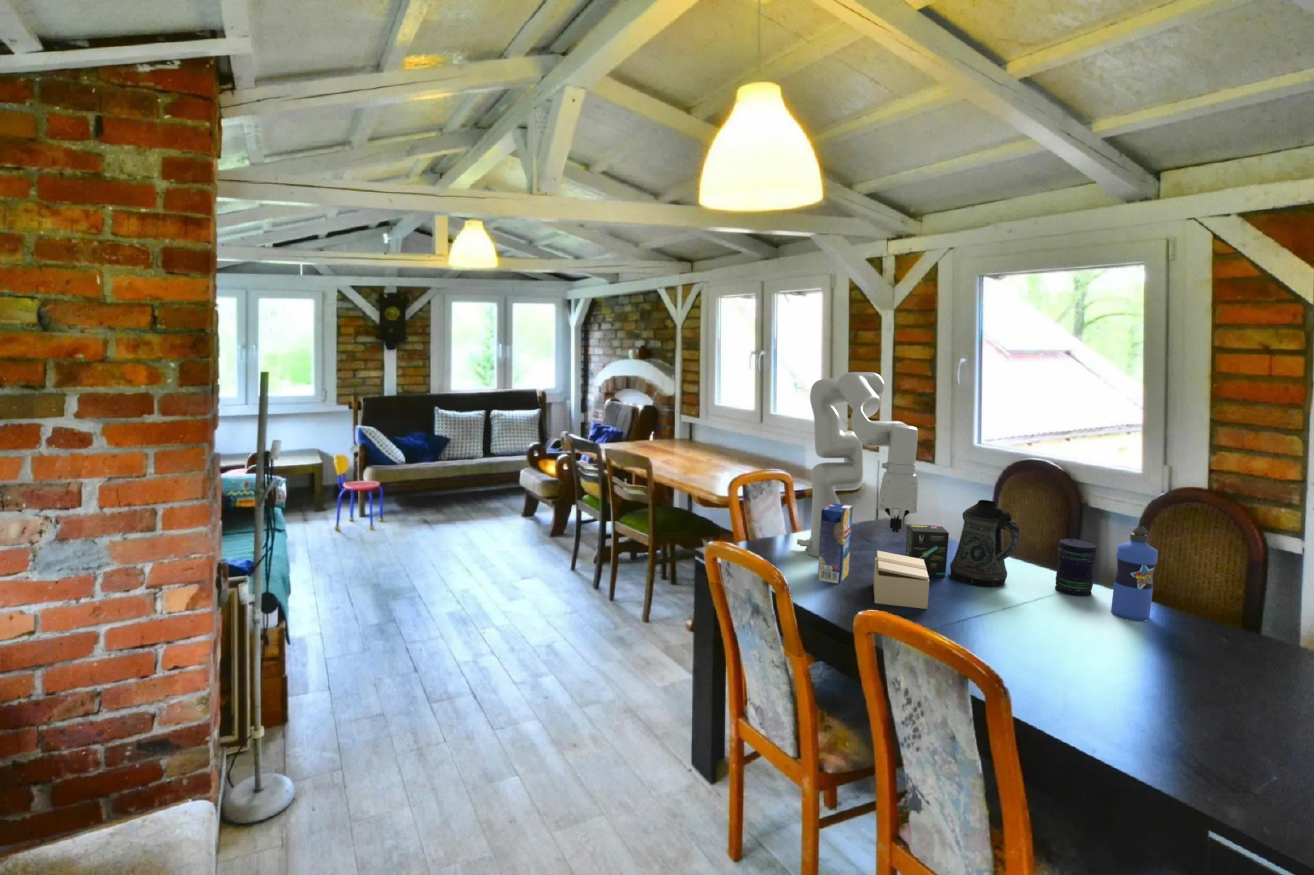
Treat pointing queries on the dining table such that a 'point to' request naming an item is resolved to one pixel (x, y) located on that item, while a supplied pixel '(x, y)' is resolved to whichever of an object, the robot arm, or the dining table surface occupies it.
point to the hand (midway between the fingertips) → (895, 531)
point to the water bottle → (1134, 577)
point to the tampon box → (928, 547)
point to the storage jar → (1075, 567)
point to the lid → (902, 565)
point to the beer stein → (984, 546)
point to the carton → (900, 589)
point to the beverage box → (835, 542)
